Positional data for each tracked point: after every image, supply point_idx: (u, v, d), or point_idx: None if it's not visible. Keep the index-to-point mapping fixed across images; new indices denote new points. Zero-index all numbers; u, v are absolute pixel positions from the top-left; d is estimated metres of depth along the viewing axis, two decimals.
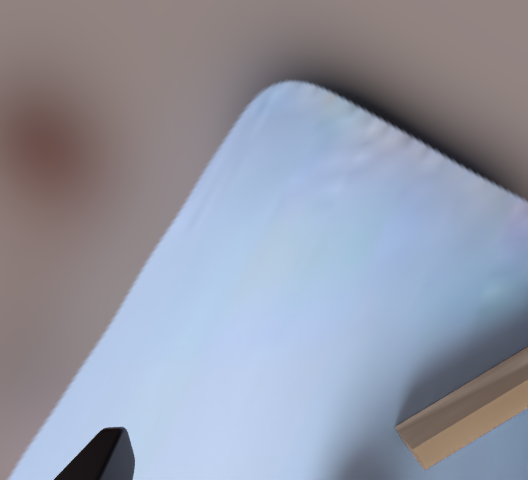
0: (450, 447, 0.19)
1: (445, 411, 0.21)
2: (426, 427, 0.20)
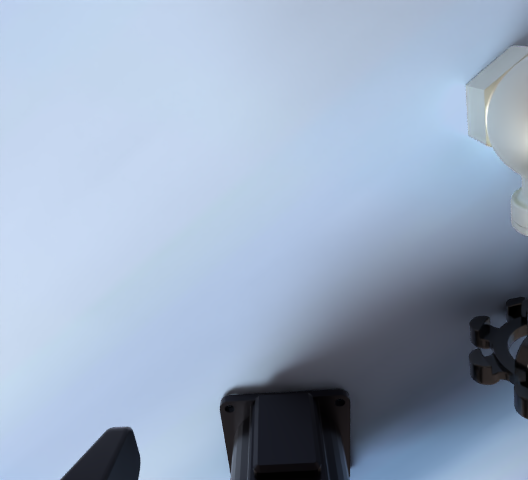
0: None
1: None
2: None
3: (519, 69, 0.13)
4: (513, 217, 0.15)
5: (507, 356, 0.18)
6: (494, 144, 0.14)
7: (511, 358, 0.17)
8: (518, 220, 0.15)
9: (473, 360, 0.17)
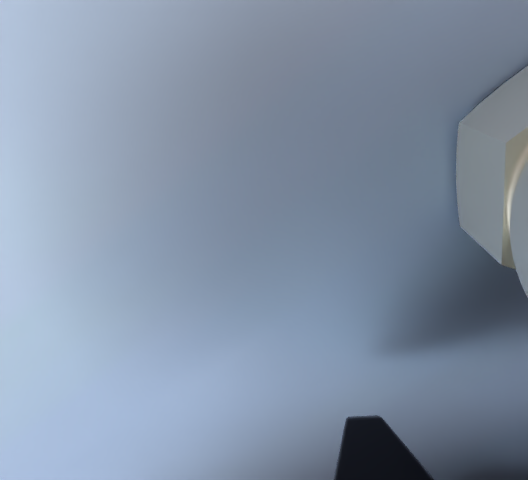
0: None
1: None
2: None
3: None
4: None
5: None
6: None
7: None
8: None
9: None
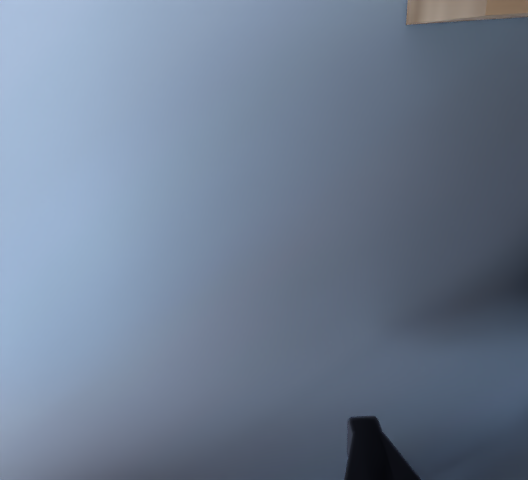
0: None
1: None
2: None
3: None
4: None
5: None
6: None
7: None
8: None
9: None
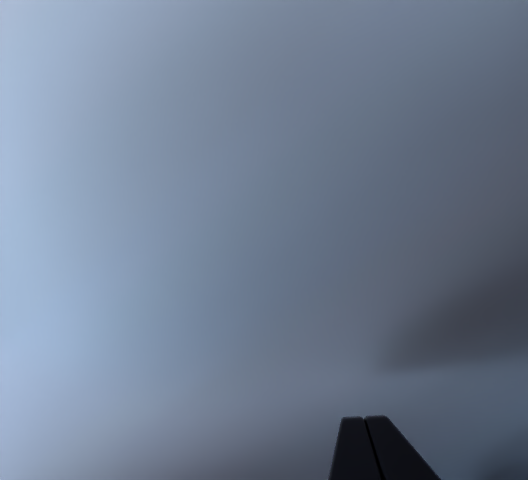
0: None
1: None
2: None
3: None
4: None
5: None
6: None
7: None
8: None
9: None
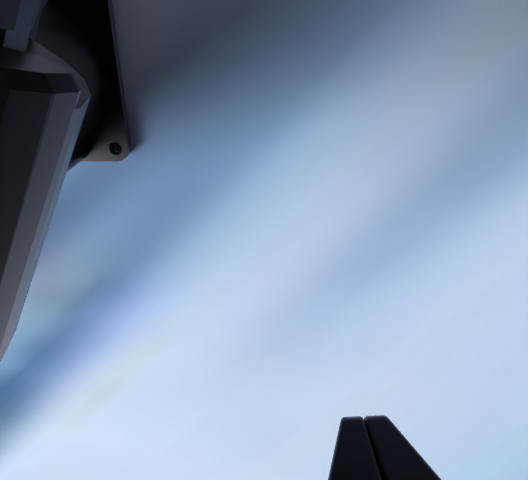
0: None
1: None
2: None
3: None
4: None
5: None
6: None
7: None
8: None
9: None
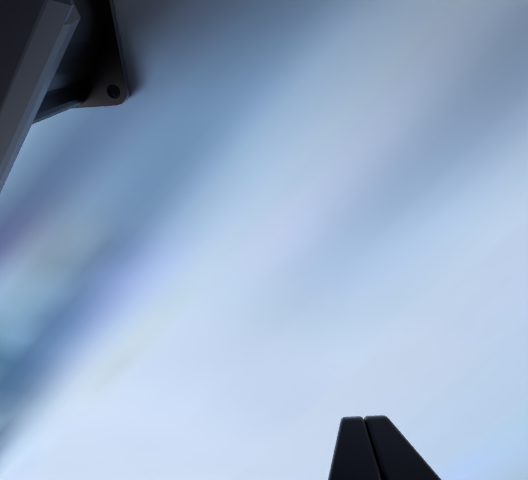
0: None
1: None
2: None
3: None
4: None
5: None
6: None
7: None
8: None
9: None
